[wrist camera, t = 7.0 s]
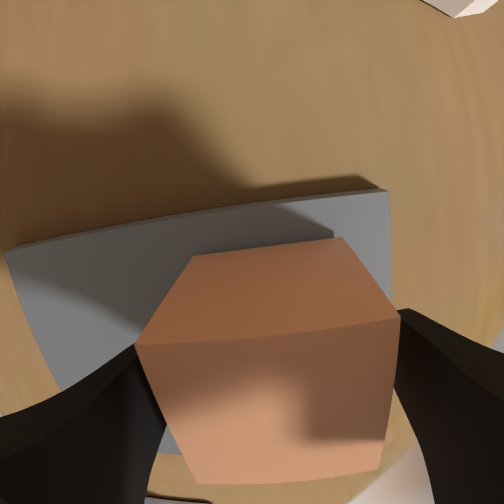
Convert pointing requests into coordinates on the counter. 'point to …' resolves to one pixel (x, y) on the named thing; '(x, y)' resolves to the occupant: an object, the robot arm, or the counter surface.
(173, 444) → the board
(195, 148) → the counter surface
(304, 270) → the salmon pink block
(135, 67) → the counter surface
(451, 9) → the white bottle
